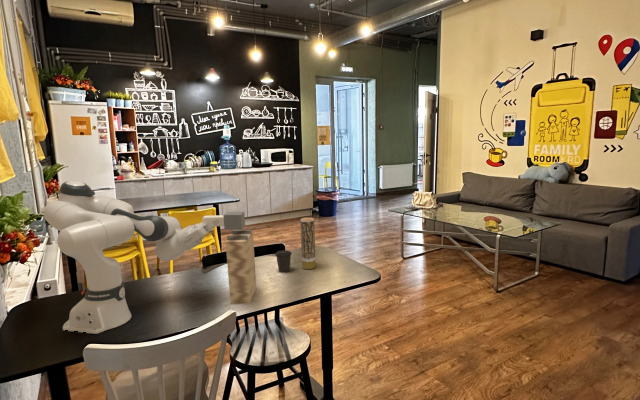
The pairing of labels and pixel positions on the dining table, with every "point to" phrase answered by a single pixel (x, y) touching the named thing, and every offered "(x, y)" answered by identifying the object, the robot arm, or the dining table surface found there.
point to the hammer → (227, 220)
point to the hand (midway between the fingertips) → (219, 219)
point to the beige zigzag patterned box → (241, 266)
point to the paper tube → (308, 243)
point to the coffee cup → (283, 260)
